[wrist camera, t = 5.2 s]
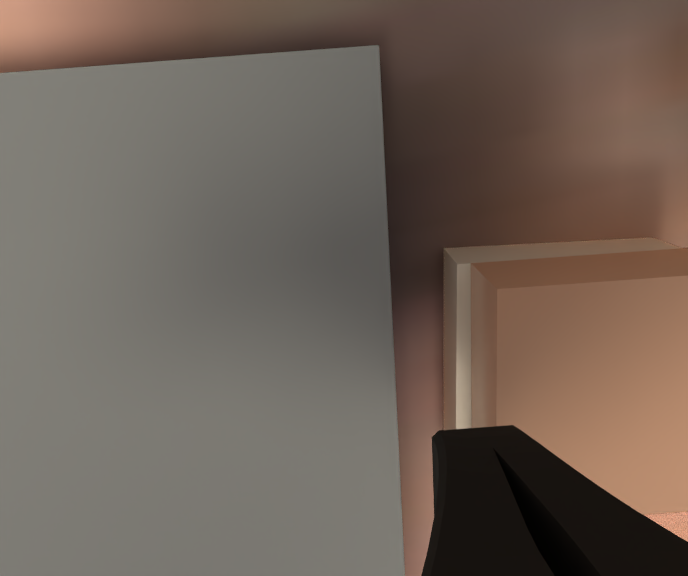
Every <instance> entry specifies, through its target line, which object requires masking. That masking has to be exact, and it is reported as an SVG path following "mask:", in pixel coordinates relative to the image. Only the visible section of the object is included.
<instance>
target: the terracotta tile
mask: <svg viewBox="0 0 688 576" xmlns="http://www.w3.org/2000/svg"><path fill="white" fill-rule="evenodd" d="M471 408H472V428H479V427H493V426H507V425H514V426H515V427H517V428H518V429H520V430H521V431H523V432H524V433H526V434H527V435H529V436H530V437H531V438H533V439H534V440H535V441H537V442H538V443H540V444H541V445H542V446H544V447H545V448H546V449H548V450H549V451H550V452H552V453H553V454H555V455H556V456H557V457H559V458H560V459H562V460H563V461H564V462H566V463H567V464H568V465H570V466H571V467H573V468H574V469H575V470H577V471H578V472H580V473H581V474H582V475H584V476H585V477H587V478H588V479H590V480H591V481H592V482H594V483H595V484H597V485H598V486H600V487H601V488H603V489H604V490H606V491H607V492H609V493H610V494H611V495H613V496H614V497H616V498H618V499H619V500H621V501H622V502H624V503H625V504H627V505H628V506H630V507H631V508H633V509H634V510H636V511H638V512H639V513H641V514H642V515H650V514H664V513H678V512H688V248H678V249H664V250H650V251H636V252H622V253H608V254H594V255H580V256H566V257H552V258H537V259H523V260H509V261H495V262H481V263H471Z"/></svg>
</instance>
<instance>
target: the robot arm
mask: <svg viewBox="0 0 688 576" xmlns="http://www.w3.org/2000/svg"><path fill="white" fill-rule="evenodd" d="M432 454H433V487H434V522H433V527H432V532H431V537H430V542H429V547H428V552H427V556H426V560H425V564H424V568H423V572H422V575H421V576H688V542H687V541H685V540H683V539H682V538H680V537H678V536H677V535H675V534H673V533H672V532H670V531H668V530H667V529H665V528H664V527H662V526H660V525H659V524H657V523H655V522H654V521H652V520H651V519H649V518H647V517H646V516H644V515H642V514H641V513H639V512H638V511H636V510H634V509H633V508H631V507H630V506H628V505H627V504H625V503H624V502H622V501H621V500H619V499H618V498H616V497H614V496H613V495H611V494H610V493H609V492H607V491H606V490H604V489H603V488H601V487H600V486H598V485H597V484H595V483H594V482H592V481H591V480H590V479H588V478H587V477H585V476H584V475H582V474H581V473H580V472H578V471H577V470H575V469H574V468H573V467H571V466H570V465H568V464H567V463H566V462H564V461H563V460H562V459H560V458H559V457H557V456H556V455H555V454H553V453H552V452H550V451H549V450H548V449H546V448H545V447H544V446H542V445H541V444H540V443H538V442H537V441H535V440H534V439H533V438H531V437H530V436H529V435H527V434H526V433H524V432H523V431H521V430H520V429H518V428H517V427H515V426H514V425H507V426H493V427H479V428H466V429H452V430H439V431H438V432H437V433H436V434H435V435H434V436H433V437H432Z"/></svg>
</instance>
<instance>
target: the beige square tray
mask: <svg viewBox="0 0 688 576" xmlns="http://www.w3.org/2000/svg"><path fill="white" fill-rule="evenodd" d="M678 248H680V247H677V246H675V245H672V244H669V243H667V242H664V241H661V240H659V239H656V238H653V237H647V238H628V239H608V240H589V241H570V242H551V243H532V244H513V245H493V246H474V247H455V248H444V413H443V430H452V429H466V428H472V408H471V263H481V262H495V261H509V260H523V259H537V258H552V257H566V256H580V255H594V254H608V253H622V252H636V251H650V250H664V249H678Z"/></svg>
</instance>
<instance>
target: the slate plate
mask: <svg viewBox="0 0 688 576" xmlns="http://www.w3.org/2000/svg"><path fill="white" fill-rule="evenodd" d="M0 576H405V566H404V546H403V525H402V505H401V484H400V464H399V443H398V423H397V402H396V382H395V362H394V341H393V321H392V300H391V280H390V259H389V239H388V218H387V198H386V177H385V157H384V136H383V116H382V95H381V75H380V54H379V45H373V46H359V47H346V48H332V49H319V50H305V51H292V52H278V53H265V54H251V55H237V56H224V57H210V58H197V59H183V60H170V61H156V62H143V63H129V64H116V65H102V66H89V67H75V68H62V69H48V70H35V71H21V72H7V73H0Z"/></svg>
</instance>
